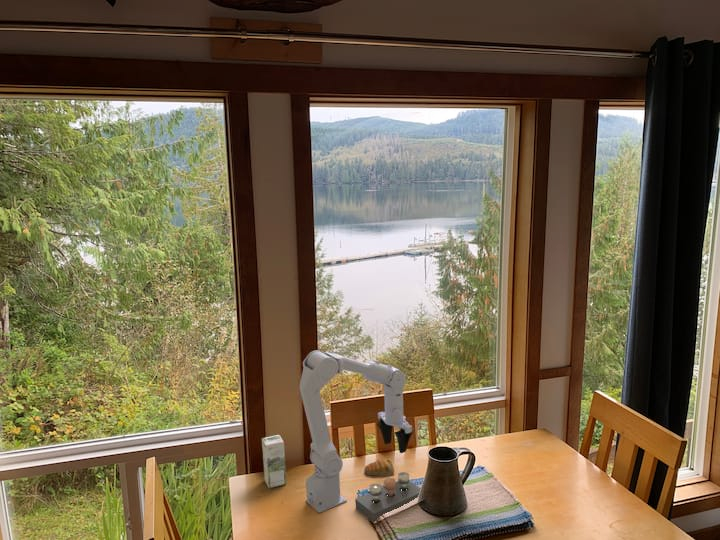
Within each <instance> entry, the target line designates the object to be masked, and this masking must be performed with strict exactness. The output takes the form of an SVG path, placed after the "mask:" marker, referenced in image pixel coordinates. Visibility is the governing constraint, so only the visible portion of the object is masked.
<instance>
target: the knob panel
mask: <svg viewBox="0 0 720 540" xmlns="http://www.w3.org/2000/svg"><path fill="white" fill-rule="evenodd" d="M395 483H396V488H395V489H394V490H393V497H388V496H387V495H388V490H386V489H385V488H384V486H382V487H381V495H380V496H378V498H379V503H377V504H375V503H373V501H374V498H373V496H372V495H370V492H369V493H366V494H364V495H361V496H359V497H356V498H355V499H354V501H355V509H356V510H357V511H358V512H359V513H360V514H362V516H364V517H365V518H366V519H367V520H369V521H370V522H371V523H373V522H375V521H376V520H377V519H378V518H379V517H380V516H382V515H383V514H385V513H387V512H390V511H392V510H394V509H397V508H399V507H401V506H403V505H404V504H407V503H409V502H410V501H412V500H414V499H415V498H417V497H418V495H419V492H420V489H422V488H421V487H420V486H418V485H417V484H416V483H413V482H412V481H410V480H409V483H408V484H406V489H407V490H406V491H404V492H403V491H401V489H402V486H401V484H400V483H399V482H398V480H397V481H395Z"/></svg>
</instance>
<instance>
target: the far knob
mask: <svg viewBox="0 0 720 540" xmlns="http://www.w3.org/2000/svg"><path fill="white" fill-rule="evenodd" d="M397 481H398V482H399V483H400V484H401V486H402V491H403V492H404V491H407V490H406V484H408V483H409V481H410V474H409V472H406V471H401V472H399V473H398V474H397Z"/></svg>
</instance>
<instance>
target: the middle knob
mask: <svg viewBox="0 0 720 540" xmlns="http://www.w3.org/2000/svg"><path fill="white" fill-rule="evenodd" d="M395 482H396V479H395V478H394V477H386V478H385V479H384V480H383V483H384V484H383V487H384V488H385V489H386V490H388V497H389V498H390V497H393V490H394V489H395V488H396V483H395Z"/></svg>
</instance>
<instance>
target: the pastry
mask: <svg viewBox="0 0 720 540" xmlns="http://www.w3.org/2000/svg"><path fill="white" fill-rule="evenodd" d="M363 471H364V474H365V475H367V476H371V477H373V476H374V477H381V476H382V477H383V476H391V475H393V474H394V473H395V468H394V465H393V460H392V459H391V458H386V459H376V460H375V461H374V462H370V463H369V464H367V465H365V466H364V469H363Z"/></svg>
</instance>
